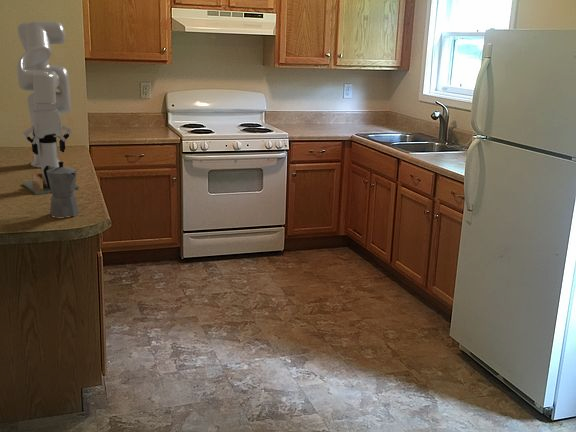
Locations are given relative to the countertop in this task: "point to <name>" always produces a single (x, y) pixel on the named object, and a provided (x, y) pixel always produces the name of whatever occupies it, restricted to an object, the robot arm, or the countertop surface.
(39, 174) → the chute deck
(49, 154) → the travel mug
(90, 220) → the countertop surface
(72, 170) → the coffeepot
